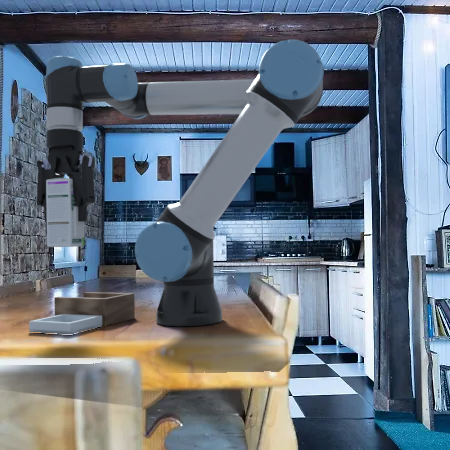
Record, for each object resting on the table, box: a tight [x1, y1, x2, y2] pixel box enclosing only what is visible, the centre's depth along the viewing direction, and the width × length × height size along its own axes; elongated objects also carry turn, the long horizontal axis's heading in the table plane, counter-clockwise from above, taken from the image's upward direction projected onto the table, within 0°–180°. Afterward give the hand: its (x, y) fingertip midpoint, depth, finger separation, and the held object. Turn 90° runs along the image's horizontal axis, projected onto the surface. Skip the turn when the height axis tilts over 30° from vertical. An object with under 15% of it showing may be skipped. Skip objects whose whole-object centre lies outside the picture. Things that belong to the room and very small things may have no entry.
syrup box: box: [46, 177, 85, 248], centre depth 107 cm, size 6×6×14 cm
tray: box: [28, 314, 103, 334], centre depth 106 cm, size 10×10×2 cm
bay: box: [53, 291, 136, 326], centre depth 119 cm, size 14×12×6 cm
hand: (65, 237), depth 107 cm, fingers closed on syrup box, 6 cm apart
